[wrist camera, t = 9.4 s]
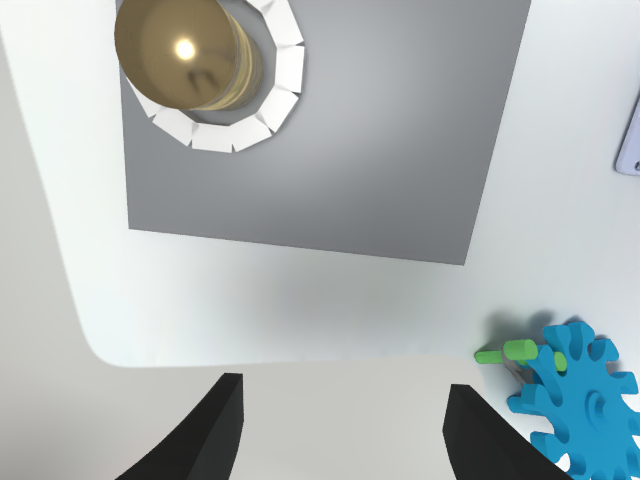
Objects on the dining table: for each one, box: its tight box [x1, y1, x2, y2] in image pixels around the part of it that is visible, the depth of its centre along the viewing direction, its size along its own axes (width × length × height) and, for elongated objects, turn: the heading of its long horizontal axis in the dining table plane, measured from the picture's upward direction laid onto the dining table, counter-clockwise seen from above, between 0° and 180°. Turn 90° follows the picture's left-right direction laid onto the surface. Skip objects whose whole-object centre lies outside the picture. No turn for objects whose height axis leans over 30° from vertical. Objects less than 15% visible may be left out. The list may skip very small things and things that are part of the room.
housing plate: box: [116, 0, 531, 266], centre depth 19 cm, size 19×14×2 cm
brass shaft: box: [114, 0, 264, 111], centre depth 15 cm, size 4×4×6 cm
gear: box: [475, 321, 640, 480], centre depth 23 cm, size 11×6×10 cm
